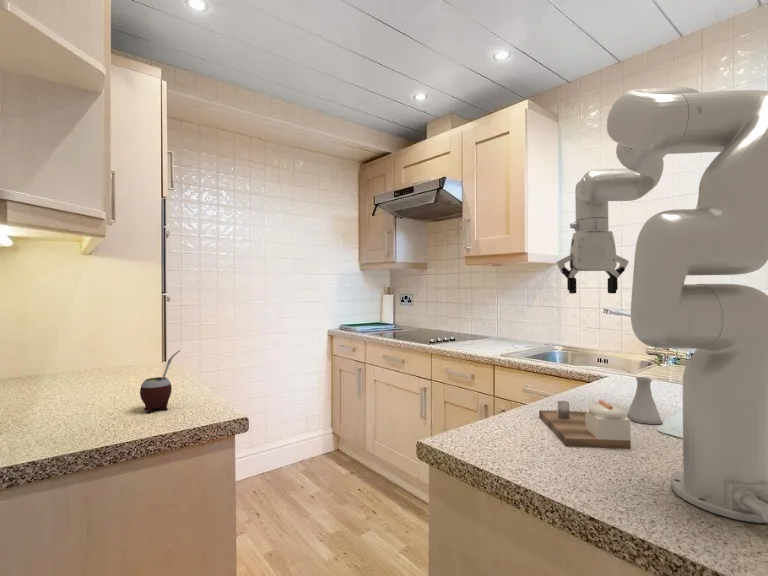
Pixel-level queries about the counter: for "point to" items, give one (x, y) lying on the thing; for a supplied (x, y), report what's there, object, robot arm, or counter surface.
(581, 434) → the hub board
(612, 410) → the knob
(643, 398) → the flask
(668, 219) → the robot arm
